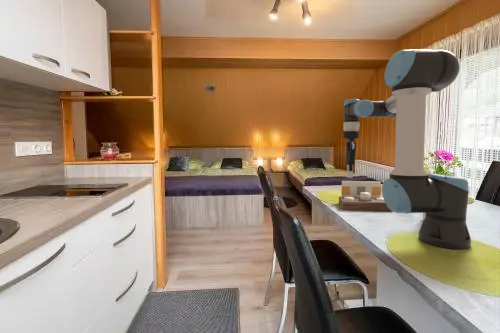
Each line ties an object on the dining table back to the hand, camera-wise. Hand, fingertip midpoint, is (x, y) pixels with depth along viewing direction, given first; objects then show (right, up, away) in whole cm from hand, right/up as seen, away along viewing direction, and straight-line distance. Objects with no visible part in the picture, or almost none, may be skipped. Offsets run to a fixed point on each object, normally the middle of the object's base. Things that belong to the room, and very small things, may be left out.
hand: (349, 177), depth 147 cm
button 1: (+16, -15, 0) cm, 22 cm away
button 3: (0, -15, +2) cm, 15 cm away
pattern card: (+9, -15, +10) cm, 20 cm away
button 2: (+8, -12, +1) cm, 15 cm away
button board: (+8, -16, +1) cm, 17 cm away
